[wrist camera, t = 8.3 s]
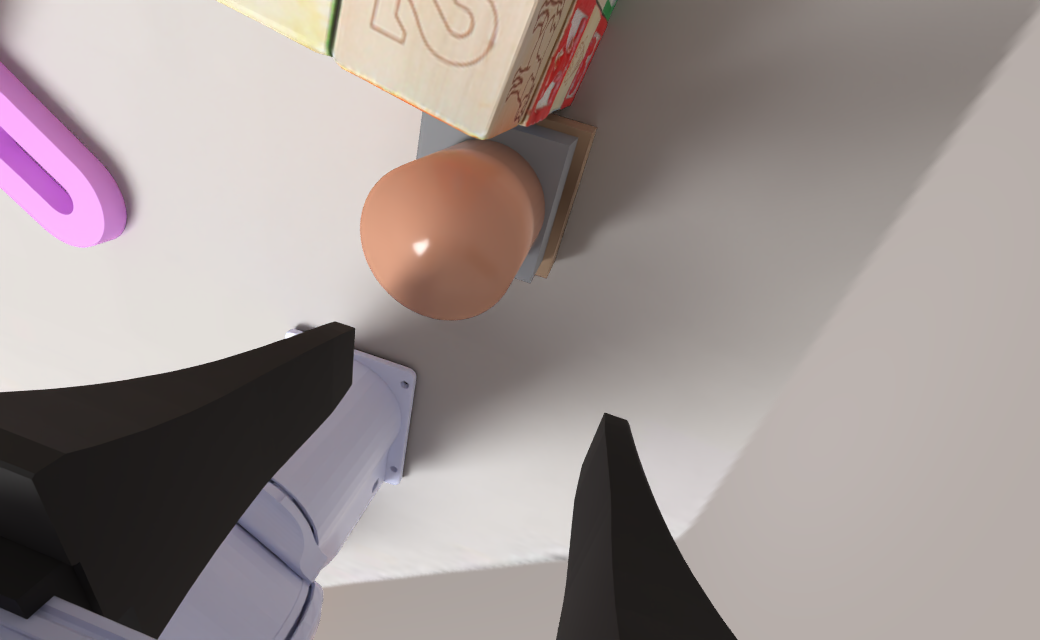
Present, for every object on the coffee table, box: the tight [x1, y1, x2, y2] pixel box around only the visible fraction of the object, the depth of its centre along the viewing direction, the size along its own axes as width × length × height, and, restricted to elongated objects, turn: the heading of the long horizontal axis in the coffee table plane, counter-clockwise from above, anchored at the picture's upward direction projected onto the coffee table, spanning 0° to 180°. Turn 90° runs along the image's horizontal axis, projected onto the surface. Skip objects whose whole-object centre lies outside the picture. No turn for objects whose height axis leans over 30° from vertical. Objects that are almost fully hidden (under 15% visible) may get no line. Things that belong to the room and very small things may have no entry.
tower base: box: [535, 113, 597, 278], centre depth 20 cm, size 6×6×2 cm
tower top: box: [416, 112, 578, 283], centre depth 17 cm, size 5×5×2 cm
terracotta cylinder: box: [360, 139, 545, 320], centre depth 14 cm, size 4×4×4 cm
